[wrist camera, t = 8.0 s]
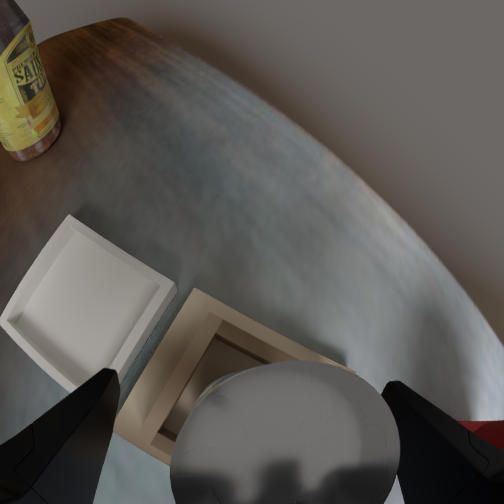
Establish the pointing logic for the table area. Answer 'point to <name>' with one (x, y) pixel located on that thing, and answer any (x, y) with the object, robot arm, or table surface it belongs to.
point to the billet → (287, 439)
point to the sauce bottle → (23, 89)
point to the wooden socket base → (197, 369)
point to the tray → (85, 306)
